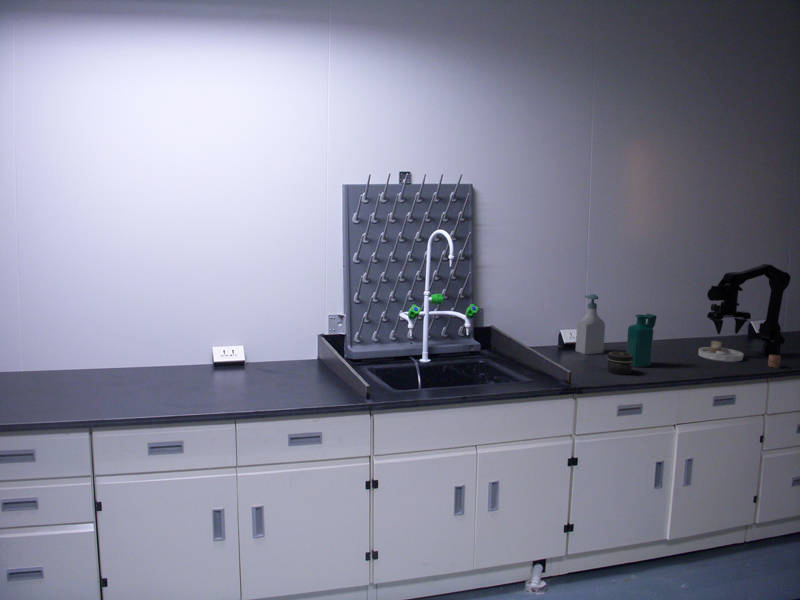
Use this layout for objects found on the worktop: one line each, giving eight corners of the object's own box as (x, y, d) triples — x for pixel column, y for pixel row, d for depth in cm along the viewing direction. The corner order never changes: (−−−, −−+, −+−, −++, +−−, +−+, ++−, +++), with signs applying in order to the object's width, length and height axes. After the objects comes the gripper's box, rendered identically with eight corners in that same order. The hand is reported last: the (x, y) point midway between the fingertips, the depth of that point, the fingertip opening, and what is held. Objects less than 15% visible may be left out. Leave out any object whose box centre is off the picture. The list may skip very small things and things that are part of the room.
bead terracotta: (775, 365, 275) (777, 354, 275) (781, 368, 271) (782, 357, 270) (765, 365, 275) (766, 354, 275) (771, 368, 271) (772, 356, 270)
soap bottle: (591, 349, 301) (595, 292, 297) (603, 352, 294) (607, 294, 290) (572, 350, 297) (576, 293, 293) (584, 354, 289) (588, 295, 285)
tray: (730, 353, 299) (731, 347, 299) (750, 362, 281) (751, 356, 281) (691, 351, 300) (692, 346, 299) (709, 361, 282) (709, 355, 281)
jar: (611, 367, 265) (613, 350, 264) (635, 372, 259) (637, 354, 258) (602, 372, 258) (604, 354, 257) (627, 376, 251) (628, 358, 250)
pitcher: (635, 367, 267) (639, 316, 263) (623, 362, 275) (627, 313, 271) (655, 366, 269) (659, 316, 266) (642, 361, 277) (646, 312, 274)
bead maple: (722, 353, 293) (723, 342, 292) (712, 352, 293) (713, 342, 292) (718, 351, 297) (719, 340, 297) (708, 350, 297) (709, 340, 297)
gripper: (735, 297, 297) (732, 330, 300) (700, 298, 294) (698, 330, 296) (753, 301, 287) (749, 334, 289) (717, 301, 283) (714, 335, 285)
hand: (727, 333), depth 290 cm, fingers open, 9 cm apart
